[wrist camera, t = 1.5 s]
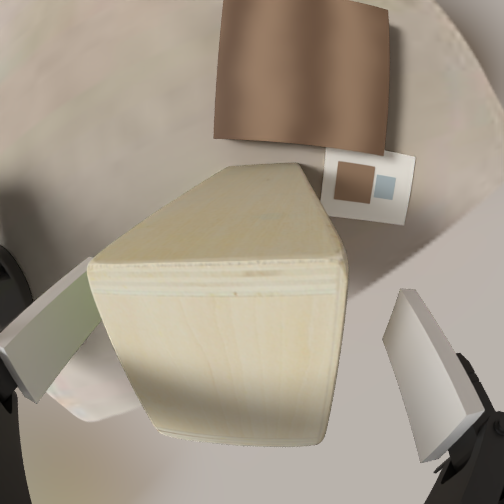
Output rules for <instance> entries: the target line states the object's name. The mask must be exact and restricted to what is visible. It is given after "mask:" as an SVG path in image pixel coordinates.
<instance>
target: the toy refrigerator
mask: <svg viewBox="0 0 504 504" xmlns="http://www.w3.org/2000/svg"><path fill="white" fill-rule="evenodd" d="M87 276H88V280H89V284H90V288H91V291H92V294H93V297H94V300H95V303H96V305H97V308H98V311H99V313H100V316H101V318H102V321H103V323H104V326H105V328H106V331H107V333H108V336H109V338H110V340H111V343H112V345H113V347H114V350H115V352H116V354H117V356H118V359H119V361H120V363H121V365H122V367H123V369H124V371H125V373H126V375H127V377H128V379H129V381H130V383H131V385H132V387H133V389H134V391H135V393H136V395H137V397H138V399H139V401H140V402H141V404H142V406H143V408H144V410H145V411H146V413H147V415H148V417H149V418H150V420H151V422H152V424H153V425H154V427H155V428H156V429H157V431H158V432H159V433H161V434H162V435H166V436H169V437H173V438H178V439H184V440H192V441H199V442H207V443H216V444H226V445H241V446H263V447H300V446H311V445H317V444H319V443H320V442H321V441H322V440H323V439H324V437H325V434H326V430H327V426H328V421H329V416H330V411H331V406H332V401H333V395H334V390H335V384H336V378H337V372H338V366H339V359H340V352H341V345H342V338H343V330H344V323H345V314H346V305H347V295H348V280H349V266H348V259H347V252H346V250H345V247H344V245H343V243H342V241H341V238H340V236H339V234H338V233H337V231H336V229H335V227H334V225H333V223H332V222H331V220H330V218H329V216H328V214H327V213H326V211H325V209H324V207H323V205H322V203H321V202H320V200H319V198H318V197H317V195H316V193H315V191H314V190H313V188H312V186H311V185H310V183H309V181H308V179H307V177H306V175H305V173H304V172H303V170H302V168H301V167H300V165H299V164H298V163H276V164H258V165H243V166H230V167H227V168H225V169H223V170H221V171H220V172H218V173H216V174H214V175H213V176H211V177H210V178H208V179H206V180H205V181H203V182H201V183H200V184H198V185H197V186H195V187H194V188H192V189H191V190H189V191H187V192H186V193H184V194H183V195H181V196H180V197H178V198H177V199H175V200H173V201H172V202H170V203H169V204H167V205H166V206H164V207H163V208H161V209H159V210H158V211H156V212H155V213H153V214H152V215H151V216H149V217H148V218H146V219H145V220H144V221H142V222H141V223H139V224H138V225H136V226H135V227H133V228H132V229H131V230H129V231H128V232H127V233H125V234H124V235H122V236H121V237H119V238H118V239H117V240H115V241H114V242H113V243H111V244H110V245H109V246H107V247H106V248H105V249H103V250H102V251H101V252H100V253H98V254H97V255H96V256H95V257H94V258H93V259H92V260H91V261H90V262H89V263H88V265H87Z"/></svg>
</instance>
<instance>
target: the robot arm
mask: <svg viewBox="0 0 504 504" xmlns="http://www.w3.org/2000/svg"><path fill="white" fill-rule="evenodd" d="M93 258H94V257H88V258H87V259H85V260H84V261H83V262H81V263H80V264H79V265H78V266H76V267H75V268H74V269H73V270H71V271H70V272H69V273H68V274H66V275H65V276H64V277H63V278H61V279H60V280H59V281H58V282H57V283H55V284H54V285H53V286H52V287H51V288H49V289H48V290H47V291H46V292H45V293H44V294H42V295H41V296H40V297H39V298H38V299H37V300H36V301H34V302H32V296H31V293H30V290H29V287H28V284H27V282H26V279H25V277H24V275H23V273H22V271H21V269H20V268H19V266H18V265H17V263H16V261H15V260H14V259H13V257H12V256H11V255H10V254H9V253H8V252H7V251H6V250H5V249H4V248H3V247H2V246H0V504H32V503H31V499H30V495H29V490H28V486H27V481H26V476H25V471H24V465H23V459H22V452H21V444H20V435H19V423H18V422H19V421H18V398H17V394H16V392H15V391H14V390H15V389H16V388H17V386H18V388H19V389H20V391H21V392H22V394H23V395H24V396H25V397H26V398H28V399H30V400H31V401H33V402H34V403H36V404H37V403H38V402H39V401H40V399H41V398H42V396H43V395H44V394H45V392H46V391H47V389H48V388H49V387H50V385H51V384H52V383H53V381H54V380H55V378H56V377H57V376H58V374H59V373H60V372H61V370H62V369H63V368H64V367H65V365H66V364H67V363H68V361H69V360H70V359H71V357H72V356H73V355H74V354H75V352H76V351H77V350H78V348H79V347H80V346H81V345H82V343H83V342H84V341H85V340H86V338H87V337H88V336H89V335H90V334H91V332H92V331H93V330H94V329H95V327H96V326H97V325H98V324H99V323H100V321H101V320H102V318H101V316H100V313H99V311H98V308H97V305H96V303H95V300H94V297H93V294H92V291H91V288H90V284H89V280H88V276H87V265H88V263H89V262H90V261H91V260H92V259H93ZM382 340H383V343H384V345H385V348H386V351H387V354H388V356H389V359H390V362H391V365H392V367H393V371H394V373H395V377H396V380H397V382H398V386H399V389H400V392H401V395H402V398H403V401H404V404H405V408H406V411H407V415H408V418H409V421H410V425H411V429H412V432H413V436H414V439H415V443H416V447H417V451H418V455H419V459H420V463H424V462H428V461H432V460H436V459H439V458H440V457H441V456H442V455H443V454H444V453H445V452H446V451H447V450H448V451H449V455H450V457H449V458H448V459H447V460H446V461H445V462H443V463H442V464H441V465H440V466H439V467H438V468H437V469H436V470H435V471H434V473H437V472H438V471H440V470H441V469H442V470H441V472H440V474H439V477H438V479H437V481H436V483H435V485H434V487H433V488H432V490H431V492H430V494H429V496H428V498H427V500H426V501H425V503H424V504H504V412H500V411H498V412H496V411H495V410H494V408H493V406H492V404H491V402H490V400H489V398H488V396H487V394H486V392H485V390H484V388H483V386H482V384H481V382H479V378H478V377H477V375H476V374H475V373H474V370H473V368H472V366H471V364H470V362H469V361H468V360H467V359H466V358H465V357H464V356H463V355H462V354H461V353H455V352H454V350H453V348H452V346H451V345H450V343H449V341H448V340H447V338H446V336H445V335H444V333H443V331H442V330H441V328H440V327H439V325H438V323H437V322H436V320H435V319H434V317H433V316H432V314H431V312H430V311H429V310H428V308H427V307H426V305H425V303H424V302H423V300H422V299H421V297H420V296H419V295H418V293H417V292H416V290H413V289H400V291H399V294H398V297H397V300H396V303H395V306H394V309H393V312H392V315H391V318H390V320H389V323H388V325H387V328H386V331H385V333H384V336H383V339H382Z"/></svg>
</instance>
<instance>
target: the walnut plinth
mask: <svg viewBox="0 0 504 504" xmlns="http://www.w3.org/2000/svg"><path fill="white" fill-rule="evenodd" d="M389 73H390V44H389V18H388V10H386V9H382V8H379V7H375V6H371V5H367V4H363V3H359V2H354V1H349V0H223V10H222V20H221V30H220V42H219V54H218V67H217V82H216V98H215V116H214V138H213V139H239V140H258V141H272V142H284V143H295V144H305V145H313V146H322V147H329V148H337V149H344V150H350V151H356V152H362V153H368V154H374V155H379V156H384V149H385V139H386V129H387V116H388V100H389Z"/></svg>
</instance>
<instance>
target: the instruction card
mask: <svg viewBox="0 0 504 504" xmlns="http://www.w3.org/2000/svg"><path fill="white" fill-rule="evenodd" d="M415 158H416V157H413V156H409V155H404V154H400V153H395V152H390V151H385V150H384V156H379V155H374V154H368V153H362V152H356V151H350V150H344V149H337V148H329V147H326V153H325V163H324V173H323V182H322V191H321V199H320V202H321V203H322V205H323V207H324V209H325V211H326V213H327V214H328V216H332V217H341V218H349V219H358V220H366V221H374V222H382V223H389V224H396V225H404V223H405V218H406V213H407V208H408V203H409V197H410V191H411V185H412V179H413V173H414V166H415Z"/></svg>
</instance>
